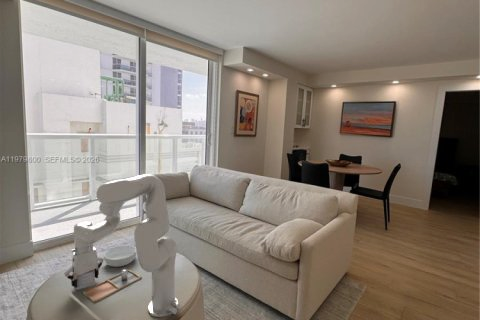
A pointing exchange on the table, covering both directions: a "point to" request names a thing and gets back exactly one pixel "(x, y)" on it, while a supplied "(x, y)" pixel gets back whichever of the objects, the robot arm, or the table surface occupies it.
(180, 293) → the table surface
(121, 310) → the table surface
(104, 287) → the board
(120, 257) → the cereal bowl
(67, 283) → the table surface
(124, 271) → the peg
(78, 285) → the medicine box
